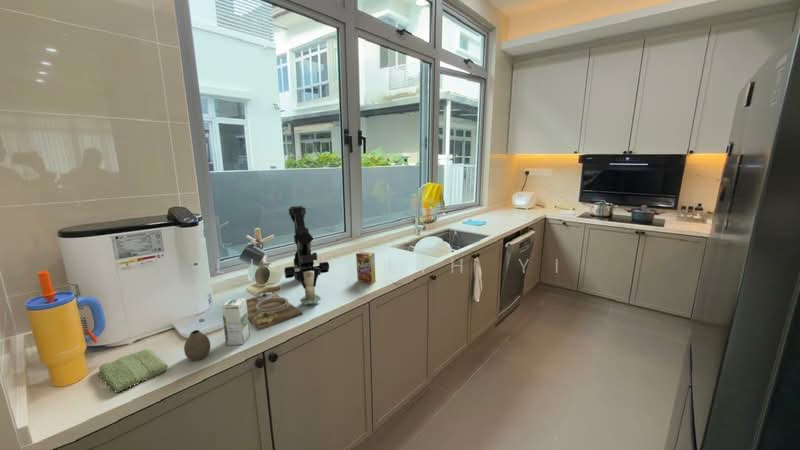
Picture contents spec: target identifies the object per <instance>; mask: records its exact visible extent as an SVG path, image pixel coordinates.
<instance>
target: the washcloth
mask: <svg viewBox="0 0 800 450" xmlns="http://www.w3.org/2000/svg"><path fill="white" fill-rule="evenodd" d="M167 369H168V365H167V364H166V362H165V361H163V360H162V359H161V358H160V357H158V355H157V354H155V352H154V351H153V350H152V349H149V348H148V349H147V348H146V349H142V350H139V351H137V352H134V353H130V354H127V355H123V356H121V357H118V358H117V359H115V360H113V361H109V362H105V363H102V364H101V365H100V366H99V369H98V370H99V371H98V373H97V375H98V374H99V375H100V376H101V377H102V378H103V379H104V380H103V379H102V380H103V382H104V381H105V382H106V383H105V382H104V383H105V384H106V385H107V386H108V385H109V386H110V389H113V390H114V391H116V392H119V393H121V392H123V391H122V390H124V389H126V388H127V389H129V388H128V387H130V386H132V387H134V386H133V385H134V384H137V383H139V382H140V381H142V382H144V381H143V380H145V379H147V378H149V379H151V378H150V377H152V378H154V377H156V376H155V375H157V374H159V375H161V374H163V373H162V372H164V371H165V372H167ZM165 372H164V373H165ZM160 373H161V374H160ZM99 375H98V376H99ZM100 376H99V377H100ZM153 376H154V377H153ZM157 376H158V375H157ZM101 377H100V378H101ZM147 380H148V379H147ZM145 381H146V380H145ZM140 383H141V382H140ZM140 383H139V384H140ZM137 385H138V384H137ZM109 386H108V387H109ZM130 388H131V387H130ZM127 389H126V390H127ZM113 390H112V391H113ZM114 391H113V392H114ZM120 391H121V392H120ZM124 391H125V390H124ZM116 392H115V393H116Z"/></svg>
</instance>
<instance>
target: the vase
mask: <svg viewBox="0 0 800 450" xmlns="http://www.w3.org/2000/svg"><path fill="white" fill-rule="evenodd" d="M183 351H184V355H185V357H186V358H187V359H188V360H189V361H192V360H193V361H192V362H196V360H198V361H200V359H201V360H203V359H205V358H206V357H207V355H209V353H210V351H211V341H210V338H209V337H208V336H207V335H206V334H204V333H203V332H201V330H199V329H195V330H192V331H191V332H190V334H189V336H188V337H187V339H186V340H185V343H184V345H183ZM204 357H205V358H204Z"/></svg>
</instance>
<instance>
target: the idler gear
mask: <svg viewBox="0 0 800 450" xmlns="http://www.w3.org/2000/svg"><path fill="white" fill-rule="evenodd" d="M304 284H305V289H304V293H305V295H304V296H302V298H300V302H299V303H302V304H303V305H313V304H314V305H315V304H317V303H318V302H319V301H321V295H320V296H319V295H318V294H316V290H315V287H314V271H305V272H304Z"/></svg>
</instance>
